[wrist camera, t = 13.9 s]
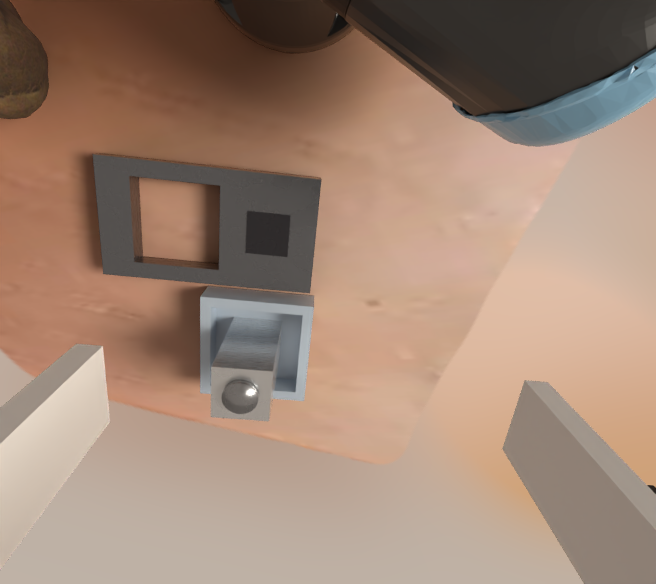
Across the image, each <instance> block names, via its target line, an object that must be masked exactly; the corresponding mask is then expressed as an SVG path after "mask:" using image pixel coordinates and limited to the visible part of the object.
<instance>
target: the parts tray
mask: <svg viewBox="0 0 656 584" xmlns="http://www.w3.org/2000/svg"><path fill="white" fill-rule="evenodd" d="M313 311H314V296H312V295H301V294H290V293H280V292H269V291H258V290H247V289H236V288H225V287H215V286H208V287H207V288H206V290H205V291H204V292H203V294H202V295H201V296H200V393H205V394H211V366H212V364H213V362H214V360H215V358H216V356H217V353H218V351H219V349H220V347H221V345H222V343H223V341H224V338H225V336H226V334H227V332H228V330H229V328H230V326H231V323H232V321H233V319H234V317H243V318H254V319H266V320H277V321H282V330H281V344H280V357H279V365H278V371H277V377H276V383H275V389H274V395H273V399H284V400H297V401H304V396H305V386H306V377H307V367H308V358H309V349H310V339H311V330H312V320H313Z"/></svg>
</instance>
